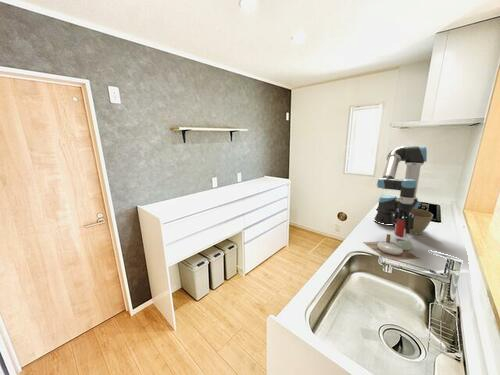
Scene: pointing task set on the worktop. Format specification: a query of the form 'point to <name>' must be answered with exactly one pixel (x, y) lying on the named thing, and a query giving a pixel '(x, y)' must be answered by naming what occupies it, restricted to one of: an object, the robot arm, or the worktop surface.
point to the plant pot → (420, 220)
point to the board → (395, 257)
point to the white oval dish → (394, 247)
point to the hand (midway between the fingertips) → (400, 235)
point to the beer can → (400, 227)
